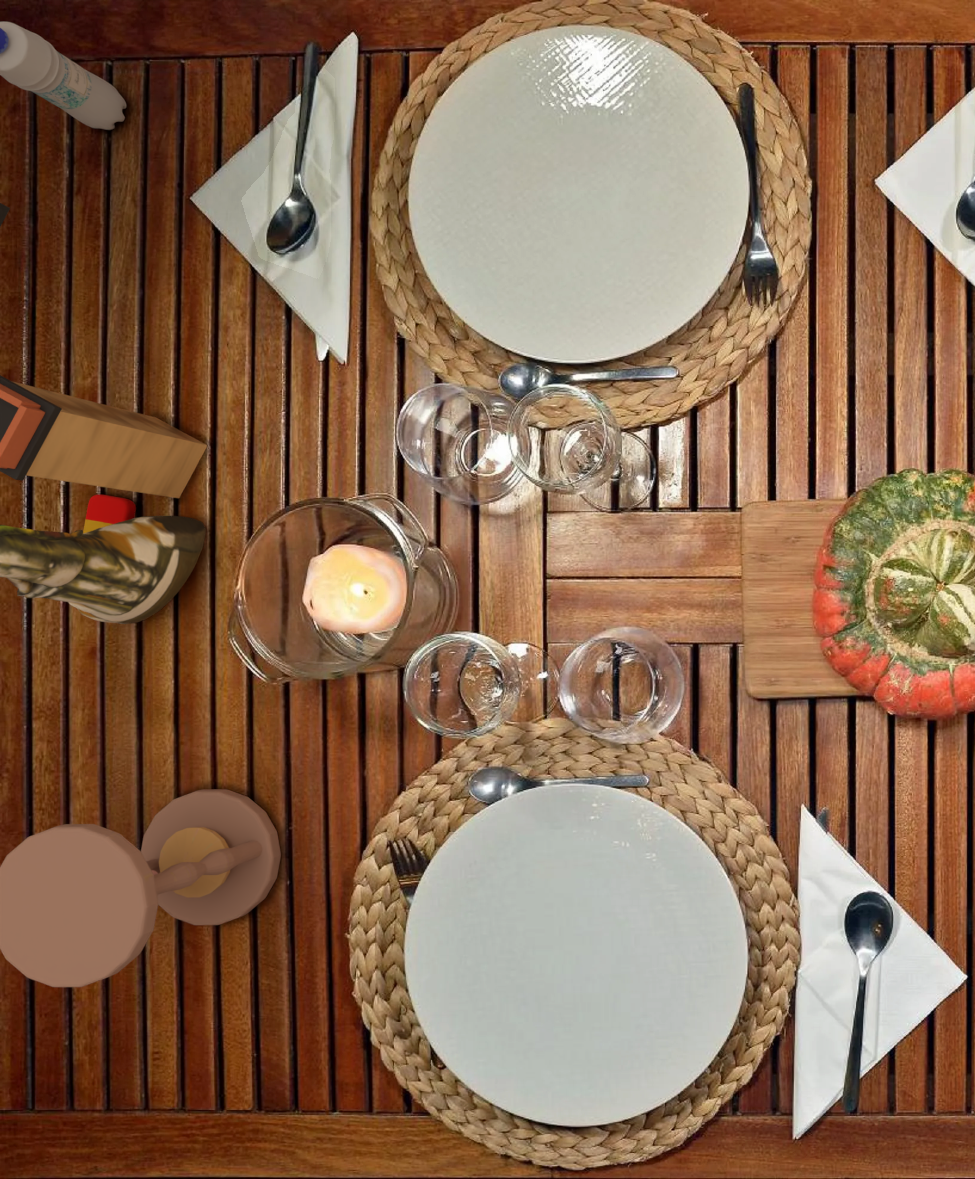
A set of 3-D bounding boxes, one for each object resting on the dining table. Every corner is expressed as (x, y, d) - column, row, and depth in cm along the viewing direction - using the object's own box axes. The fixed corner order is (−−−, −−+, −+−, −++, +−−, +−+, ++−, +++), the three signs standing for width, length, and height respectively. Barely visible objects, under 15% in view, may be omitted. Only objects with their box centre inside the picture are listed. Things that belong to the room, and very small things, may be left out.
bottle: (139, 128, 143) (12, 50, 123) (91, 142, 143) (-43, 65, 123) (126, 80, 143) (-2, -6, 123) (79, 94, 143) (-57, 10, 123)
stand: (127, 470, 142) (-42, 440, 117) (155, 417, 142) (-7, 376, 117) (179, 498, 142) (21, 474, 117) (207, 445, 142) (56, 410, 117)
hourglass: (284, 790, 141) (148, 829, 116) (280, 923, 141) (142, 991, 116) (152, 786, 141) (-11, 824, 116) (147, 919, 141) (-18, 986, 116)
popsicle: (139, 500, 142) (128, 499, 140) (119, 612, 142) (108, 612, 140) (99, 493, 142) (88, 492, 140) (79, 604, 142) (67, 604, 140)
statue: (174, 496, 142) (-68, 460, 107) (237, 547, 142) (15, 527, 107) (97, 594, 142) (-170, 590, 107) (160, 645, 142) (-88, 657, 107)
